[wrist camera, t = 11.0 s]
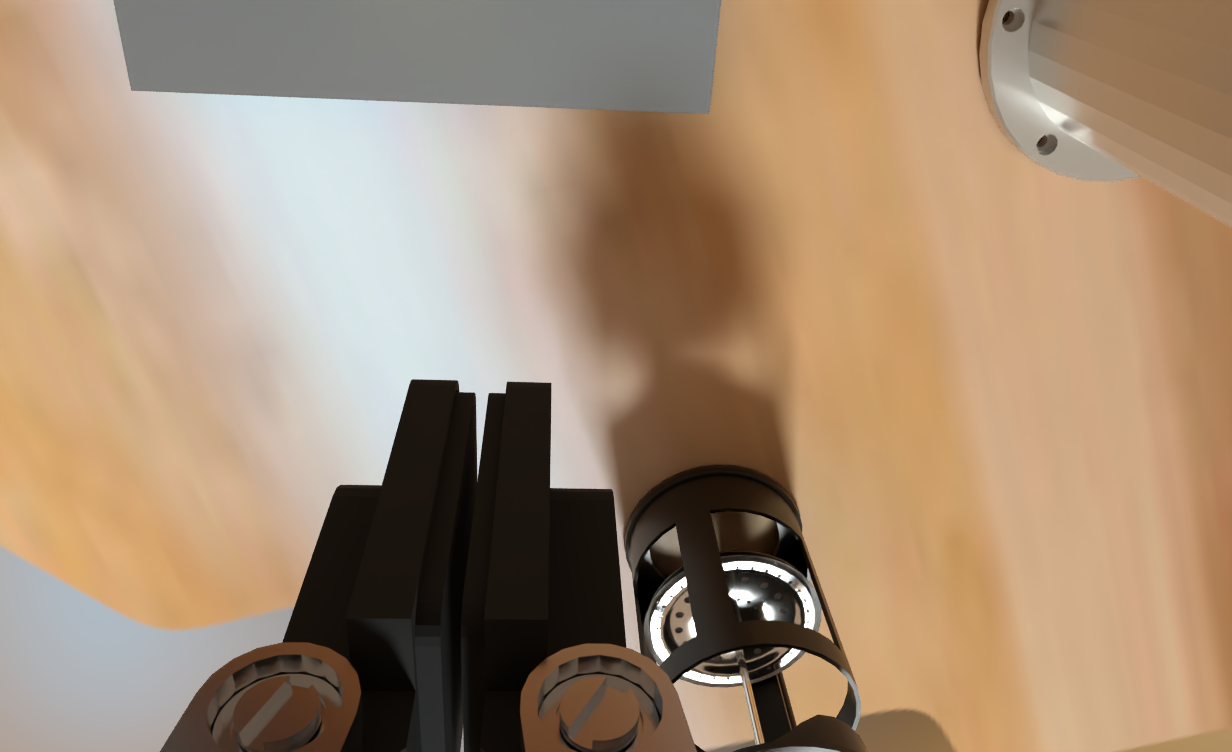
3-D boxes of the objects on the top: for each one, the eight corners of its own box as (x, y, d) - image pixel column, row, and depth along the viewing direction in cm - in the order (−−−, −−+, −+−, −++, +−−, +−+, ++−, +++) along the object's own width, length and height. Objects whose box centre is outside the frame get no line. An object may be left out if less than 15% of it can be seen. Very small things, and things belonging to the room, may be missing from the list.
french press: (591, 493, 48) (619, 961, 28) (765, 428, 46) (926, 871, 26) (672, 643, 53) (744, 1123, 33) (830, 590, 52) (1002, 1056, 32)
